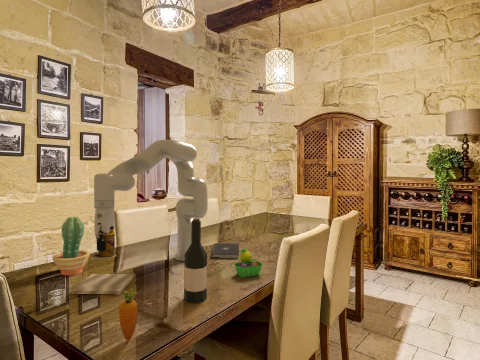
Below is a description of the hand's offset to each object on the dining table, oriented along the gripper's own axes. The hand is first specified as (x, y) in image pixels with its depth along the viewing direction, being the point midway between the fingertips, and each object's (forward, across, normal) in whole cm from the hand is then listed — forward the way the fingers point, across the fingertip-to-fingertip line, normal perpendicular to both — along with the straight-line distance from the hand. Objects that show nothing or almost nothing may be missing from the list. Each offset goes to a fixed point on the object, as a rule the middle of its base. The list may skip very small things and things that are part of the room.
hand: (104, 248), depth 127 cm
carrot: (+16, -40, -22) cm, 48 cm away
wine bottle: (+16, -12, -38) cm, 43 cm away
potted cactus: (+16, +16, +21) cm, 31 cm away
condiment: (+3, 0, 0) cm, 3 cm away
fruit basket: (+16, +14, -59) cm, 63 cm away
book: (+16, +48, -49) cm, 70 cm away
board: (+15, 0, 0) cm, 15 cm away
